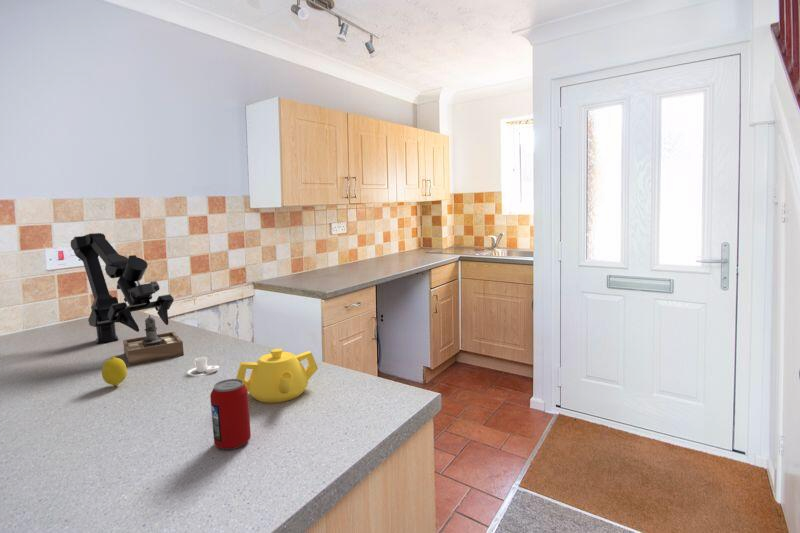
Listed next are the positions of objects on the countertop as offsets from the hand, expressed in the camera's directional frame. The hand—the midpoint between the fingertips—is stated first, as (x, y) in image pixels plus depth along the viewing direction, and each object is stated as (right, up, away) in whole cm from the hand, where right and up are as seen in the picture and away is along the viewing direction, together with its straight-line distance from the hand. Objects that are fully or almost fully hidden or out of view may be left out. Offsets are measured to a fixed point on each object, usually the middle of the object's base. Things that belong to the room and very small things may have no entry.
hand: (153, 327), depth 143 cm
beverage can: (+46, -15, -55) cm, 73 cm away
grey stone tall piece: (-1, -8, +2) cm, 8 cm away
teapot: (+49, -12, -33) cm, 61 cm away
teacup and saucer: (+23, -12, -17) cm, 31 cm away
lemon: (+3, -12, -24) cm, 28 cm away
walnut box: (-1, -9, +2) cm, 9 cm away
